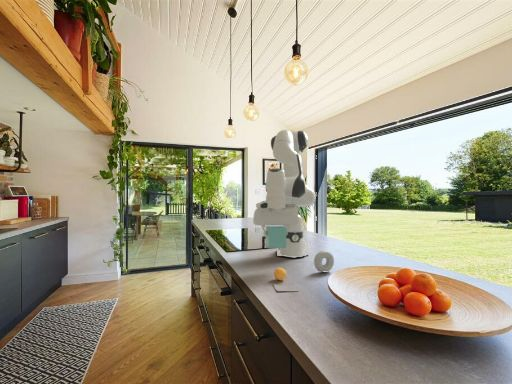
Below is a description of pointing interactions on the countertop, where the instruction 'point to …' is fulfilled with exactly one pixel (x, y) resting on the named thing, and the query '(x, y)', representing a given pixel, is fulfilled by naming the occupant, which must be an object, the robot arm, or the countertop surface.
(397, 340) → the countertop surface
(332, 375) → the countertop surface
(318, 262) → the donut
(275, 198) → the robot arm
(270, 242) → the teal cube
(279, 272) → the ball
